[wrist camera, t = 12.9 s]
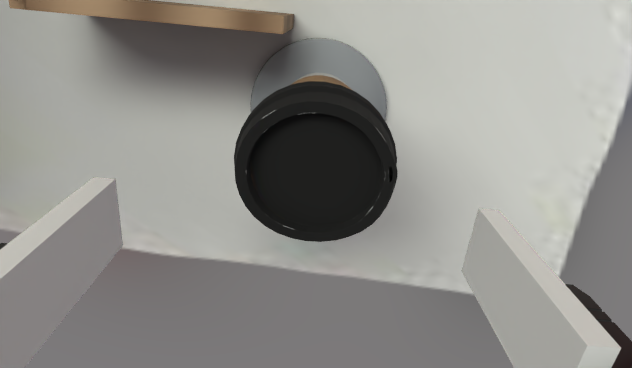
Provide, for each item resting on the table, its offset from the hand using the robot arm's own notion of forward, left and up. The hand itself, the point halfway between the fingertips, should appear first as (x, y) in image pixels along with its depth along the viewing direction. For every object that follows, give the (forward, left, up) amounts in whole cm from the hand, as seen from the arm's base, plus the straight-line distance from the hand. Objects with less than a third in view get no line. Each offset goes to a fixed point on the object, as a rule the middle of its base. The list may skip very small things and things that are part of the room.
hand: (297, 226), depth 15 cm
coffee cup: (0, 0, -20) cm, 20 cm away
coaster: (0, 0, -21) cm, 21 cm away
